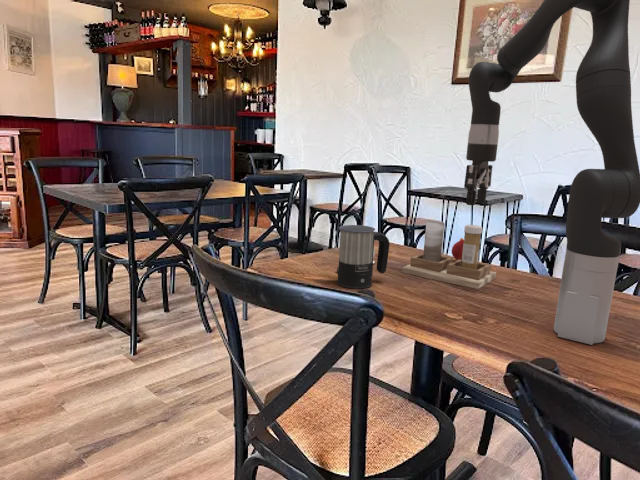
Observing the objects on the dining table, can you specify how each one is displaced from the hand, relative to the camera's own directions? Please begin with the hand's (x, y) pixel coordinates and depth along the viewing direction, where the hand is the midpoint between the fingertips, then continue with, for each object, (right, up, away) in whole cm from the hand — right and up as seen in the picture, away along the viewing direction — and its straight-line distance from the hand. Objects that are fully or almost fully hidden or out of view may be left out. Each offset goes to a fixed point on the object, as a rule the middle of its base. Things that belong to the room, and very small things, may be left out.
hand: (475, 203), depth 131 cm
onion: (+2, -17, +23) cm, 29 cm away
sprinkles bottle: (-1, -19, +4) cm, 20 cm away
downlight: (-29, -17, +17) cm, 38 cm away
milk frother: (-34, -20, -1) cm, 39 cm away
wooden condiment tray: (-5, -20, +7) cm, 22 cm away
